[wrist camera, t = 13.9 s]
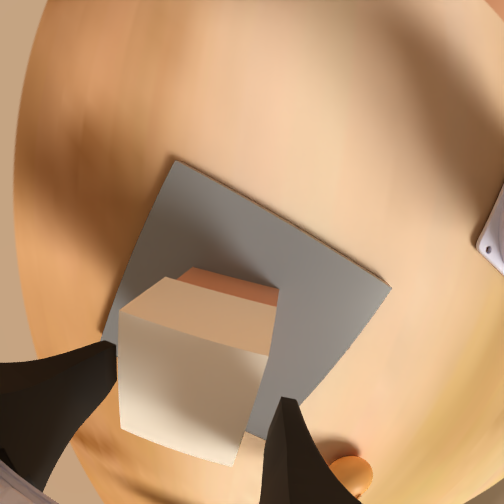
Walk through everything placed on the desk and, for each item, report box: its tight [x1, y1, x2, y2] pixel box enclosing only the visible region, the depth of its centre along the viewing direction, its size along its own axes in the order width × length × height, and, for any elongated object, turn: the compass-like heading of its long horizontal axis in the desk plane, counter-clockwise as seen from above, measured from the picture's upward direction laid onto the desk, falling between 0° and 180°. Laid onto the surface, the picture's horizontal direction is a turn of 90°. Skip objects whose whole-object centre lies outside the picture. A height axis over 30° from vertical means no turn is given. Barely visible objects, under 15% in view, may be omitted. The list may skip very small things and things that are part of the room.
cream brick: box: [118, 277, 277, 467], centre depth 12 cm, size 5×6×4 cm
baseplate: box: [101, 160, 392, 440], centre depth 18 cm, size 14×14×1 cm
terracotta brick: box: [177, 267, 279, 307], centre depth 16 cm, size 5×6×4 cm
